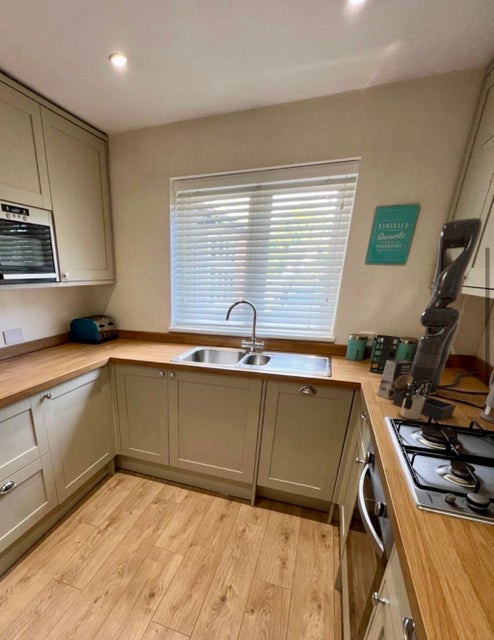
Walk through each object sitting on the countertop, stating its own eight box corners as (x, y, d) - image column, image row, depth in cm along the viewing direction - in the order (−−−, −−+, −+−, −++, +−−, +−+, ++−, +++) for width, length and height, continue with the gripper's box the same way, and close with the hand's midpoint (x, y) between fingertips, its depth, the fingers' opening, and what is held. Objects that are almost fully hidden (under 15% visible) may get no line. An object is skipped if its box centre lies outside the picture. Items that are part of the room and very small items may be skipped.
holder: (370, 372, 179) (379, 335, 174) (367, 370, 186) (375, 334, 181) (393, 375, 176) (402, 337, 171) (389, 372, 183) (398, 336, 178)
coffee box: (388, 399, 143) (398, 363, 137) (376, 394, 148) (385, 359, 142) (405, 397, 145) (415, 362, 139) (393, 392, 151) (402, 358, 145)
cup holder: (405, 400, 142) (408, 390, 140) (452, 416, 128) (455, 405, 126) (392, 404, 138) (395, 393, 136) (439, 420, 124) (443, 409, 122)
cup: (406, 411, 130) (411, 392, 127) (422, 417, 125) (429, 397, 122) (396, 414, 127) (402, 395, 124) (413, 420, 122) (419, 400, 119)
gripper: (425, 369, 112) (411, 414, 118) (447, 364, 118) (433, 407, 124) (402, 363, 118) (390, 406, 124) (425, 359, 124) (412, 400, 131)
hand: (412, 407), depth 124 cm, fingers closed on cup, 6 cm apart
